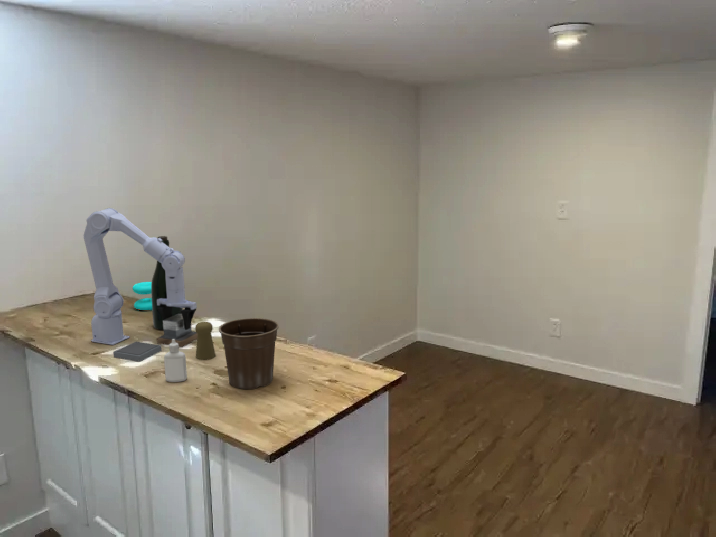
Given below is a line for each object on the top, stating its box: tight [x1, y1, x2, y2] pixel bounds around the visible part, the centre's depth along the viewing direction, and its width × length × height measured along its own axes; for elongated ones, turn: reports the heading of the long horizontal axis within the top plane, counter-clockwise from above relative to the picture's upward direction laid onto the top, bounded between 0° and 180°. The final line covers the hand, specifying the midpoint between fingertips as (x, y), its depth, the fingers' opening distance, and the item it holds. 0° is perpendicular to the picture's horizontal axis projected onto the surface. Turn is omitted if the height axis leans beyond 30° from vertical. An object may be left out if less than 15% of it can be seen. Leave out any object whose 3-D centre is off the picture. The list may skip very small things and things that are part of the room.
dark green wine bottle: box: [150, 235, 184, 331], centre depth 202 cm, size 10×10×33 cm
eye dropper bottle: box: [163, 339, 188, 383], centre depth 158 cm, size 4×6×12 cm
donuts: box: [132, 281, 152, 311], centre depth 227 cm, size 10×10×10 cm
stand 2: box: [156, 330, 197, 348], centre depth 191 cm, size 10×10×2 cm
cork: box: [194, 321, 216, 361], centre depth 176 cm, size 6×6×11 cm
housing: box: [163, 314, 193, 340], centre depth 190 cm, size 5×8×6 cm, turn 159°
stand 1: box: [113, 341, 163, 363], centre depth 178 cm, size 10×10×2 cm
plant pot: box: [218, 317, 280, 390], centre depth 157 cm, size 16×16×16 cm
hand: (178, 327), depth 190 cm, fingers open, 7 cm apart
